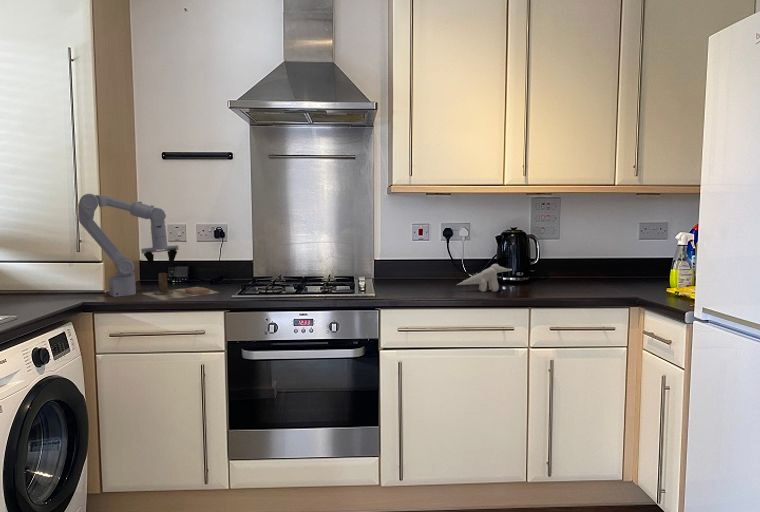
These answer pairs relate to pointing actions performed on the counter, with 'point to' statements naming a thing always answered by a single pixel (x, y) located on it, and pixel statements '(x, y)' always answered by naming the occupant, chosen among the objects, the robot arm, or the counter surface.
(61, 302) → the counter surface
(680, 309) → the counter surface
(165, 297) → the board
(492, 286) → the dinosaur statue
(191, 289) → the tile
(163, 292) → the wooden post on base
